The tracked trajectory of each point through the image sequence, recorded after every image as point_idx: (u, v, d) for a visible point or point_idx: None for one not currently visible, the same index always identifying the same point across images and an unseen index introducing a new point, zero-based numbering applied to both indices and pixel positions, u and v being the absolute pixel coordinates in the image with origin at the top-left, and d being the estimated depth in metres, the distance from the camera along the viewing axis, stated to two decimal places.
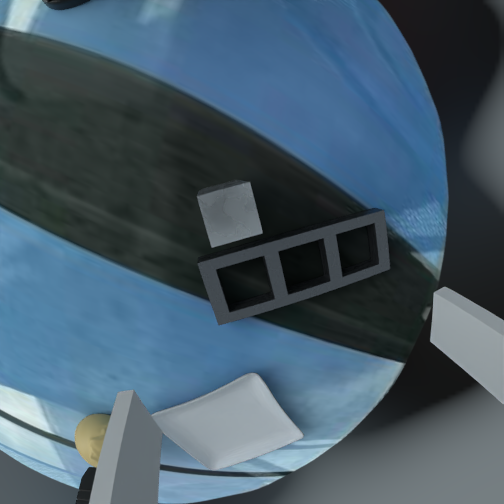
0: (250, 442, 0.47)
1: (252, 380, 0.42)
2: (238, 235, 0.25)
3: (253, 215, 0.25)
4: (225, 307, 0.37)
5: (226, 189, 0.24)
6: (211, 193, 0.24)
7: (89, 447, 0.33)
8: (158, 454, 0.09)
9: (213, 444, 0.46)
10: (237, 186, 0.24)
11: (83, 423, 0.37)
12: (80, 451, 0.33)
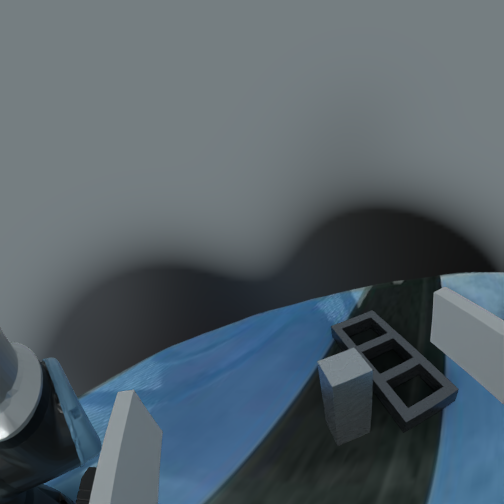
0: None
1: None
2: (359, 358, 0.28)
3: (341, 354, 0.30)
4: (440, 390, 0.28)
5: (324, 371, 0.28)
6: (328, 379, 0.27)
7: None
8: (158, 454, 0.09)
9: None
10: (321, 366, 0.29)
11: None
12: None
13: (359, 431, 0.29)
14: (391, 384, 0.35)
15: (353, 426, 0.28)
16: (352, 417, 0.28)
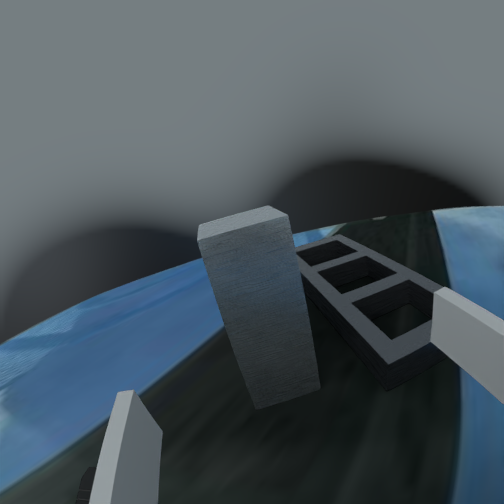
0: None
1: None
2: (269, 211, 0.17)
3: (242, 213, 0.18)
4: None
5: (200, 230, 0.16)
6: (199, 234, 0.15)
7: None
8: (158, 454, 0.09)
9: None
10: (200, 227, 0.17)
11: None
12: None
13: (297, 384, 0.17)
14: (362, 312, 0.23)
15: (279, 366, 0.17)
16: (268, 340, 0.16)
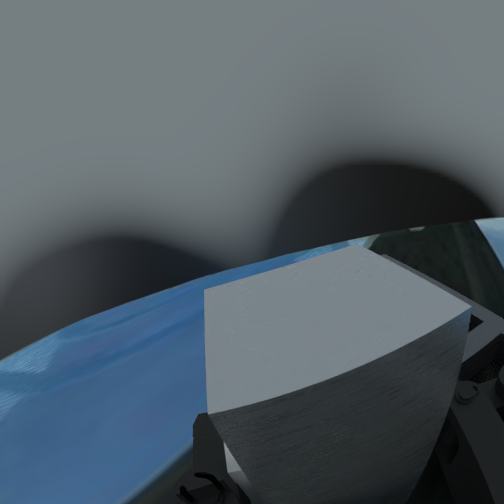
0: None
1: None
2: (384, 269, 0.06)
3: (307, 265, 0.08)
4: None
5: (209, 325, 0.06)
6: (212, 360, 0.05)
7: None
8: None
9: None
10: (208, 305, 0.07)
11: None
12: None
13: None
14: None
15: None
16: None
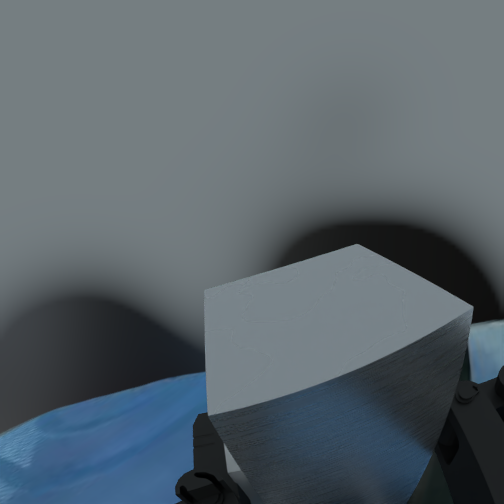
0: None
1: None
2: (385, 270, 0.06)
3: (307, 265, 0.08)
4: None
5: (209, 325, 0.06)
6: (212, 361, 0.05)
7: None
8: None
9: None
10: (208, 306, 0.07)
11: None
12: None
13: None
14: None
15: None
16: None
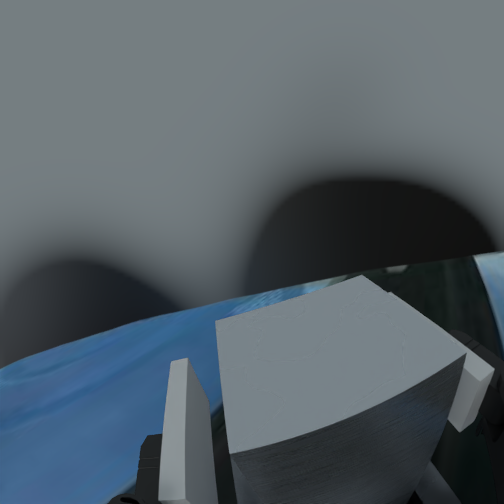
0: None
1: None
2: (388, 307, 0.06)
3: (314, 298, 0.08)
4: None
5: (223, 362, 0.06)
6: (229, 400, 0.05)
7: None
8: (209, 421, 0.10)
9: None
10: (221, 340, 0.07)
11: None
12: None
13: None
14: None
15: None
16: None
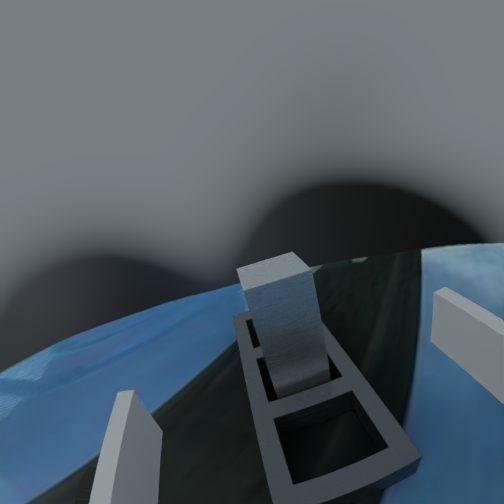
0: None
1: None
2: (295, 260, 0.21)
3: (272, 259, 0.22)
4: (378, 456, 0.13)
5: (240, 277, 0.21)
6: (242, 283, 0.19)
7: None
8: (158, 454, 0.09)
9: None
10: (239, 272, 0.22)
11: None
12: None
13: None
14: (290, 424, 0.19)
15: (301, 378, 0.21)
16: (294, 360, 0.20)
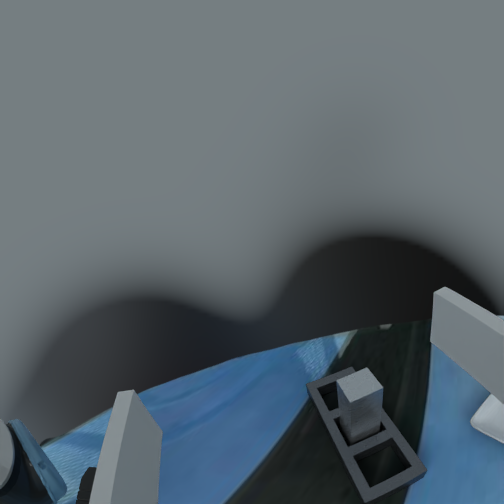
0: None
1: (481, 421, 0.26)
2: (371, 377, 0.32)
3: (356, 374, 0.34)
4: (407, 470, 0.24)
5: (343, 389, 0.32)
6: (347, 395, 0.31)
7: None
8: (158, 454, 0.09)
9: None
10: (340, 385, 0.33)
11: None
12: None
13: None
14: (359, 457, 0.30)
15: (365, 432, 0.32)
16: (364, 425, 0.32)
